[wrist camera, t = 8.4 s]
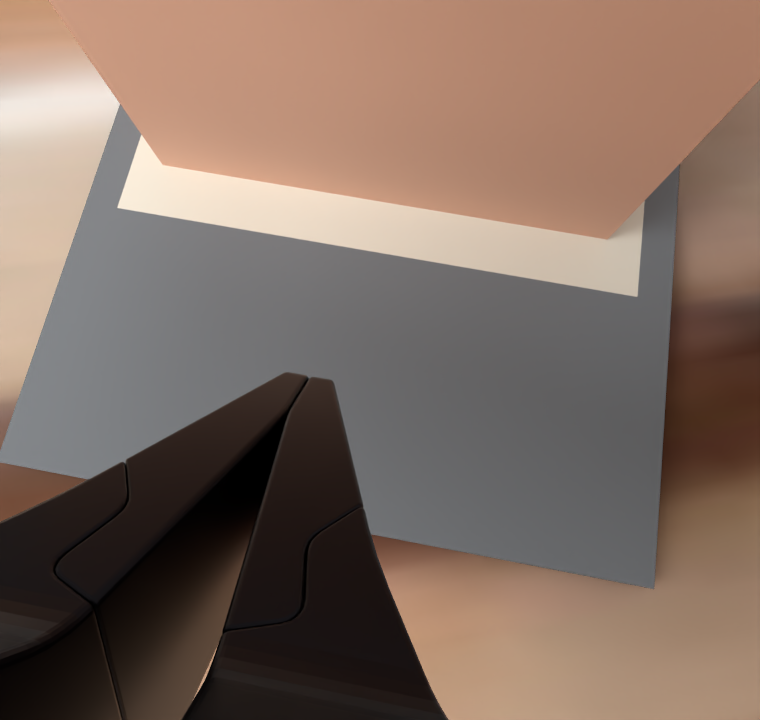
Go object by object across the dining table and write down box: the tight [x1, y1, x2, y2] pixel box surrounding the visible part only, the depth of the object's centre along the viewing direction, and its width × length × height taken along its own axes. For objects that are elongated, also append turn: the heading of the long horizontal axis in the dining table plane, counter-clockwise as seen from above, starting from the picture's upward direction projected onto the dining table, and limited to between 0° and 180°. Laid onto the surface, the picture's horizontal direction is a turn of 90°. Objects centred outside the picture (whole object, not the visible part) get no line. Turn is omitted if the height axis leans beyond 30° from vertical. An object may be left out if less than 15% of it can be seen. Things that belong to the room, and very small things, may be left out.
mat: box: [0, 104, 680, 589], centre depth 17 cm, size 23×18×1 cm
